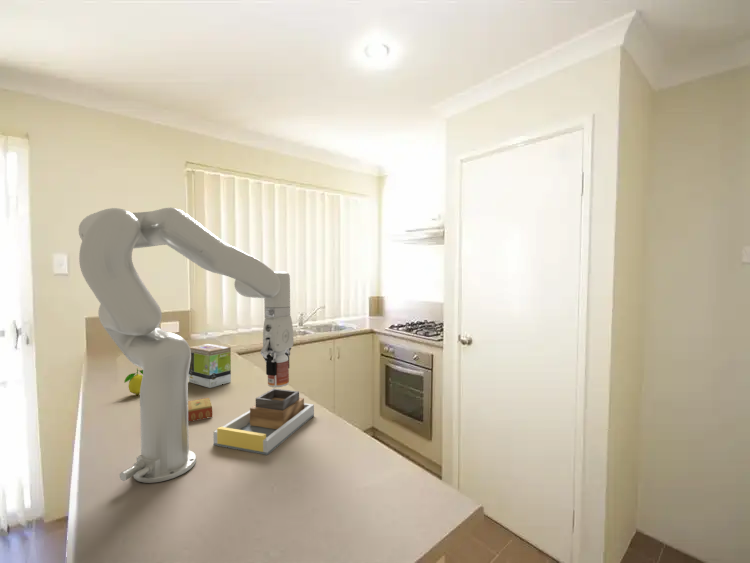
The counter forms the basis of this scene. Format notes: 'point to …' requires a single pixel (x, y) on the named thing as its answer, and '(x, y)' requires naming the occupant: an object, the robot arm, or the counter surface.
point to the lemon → (134, 382)
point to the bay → (259, 432)
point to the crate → (275, 408)
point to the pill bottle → (280, 371)
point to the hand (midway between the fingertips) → (278, 371)
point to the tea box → (210, 365)
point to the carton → (199, 409)
